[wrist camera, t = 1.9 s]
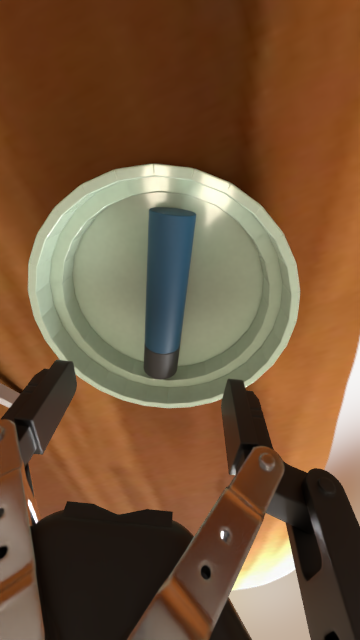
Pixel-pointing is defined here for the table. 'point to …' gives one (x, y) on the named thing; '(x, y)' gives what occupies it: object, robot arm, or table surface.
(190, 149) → the table surface
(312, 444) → the table surface
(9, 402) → the caliper
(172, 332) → the marker
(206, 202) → the bowl
